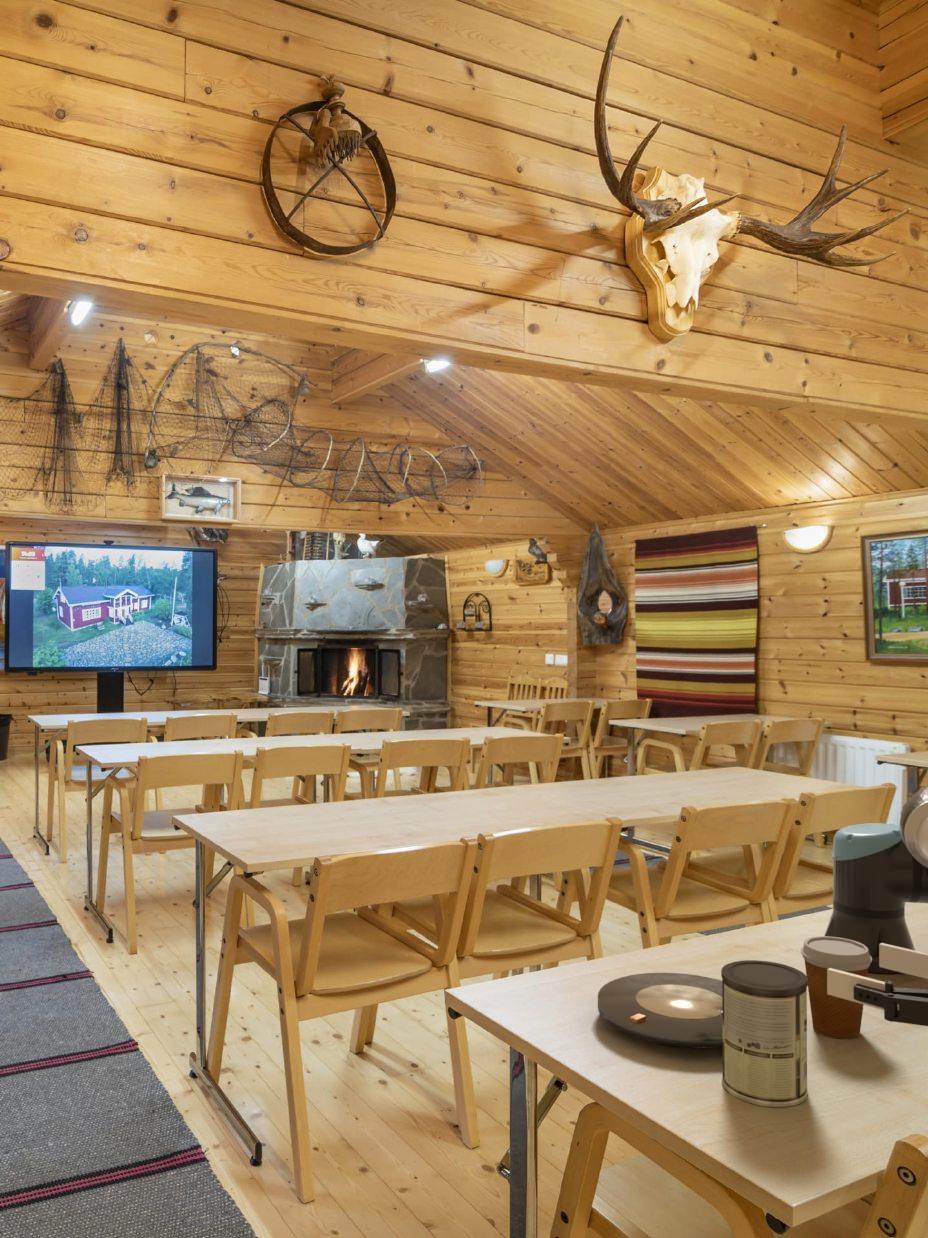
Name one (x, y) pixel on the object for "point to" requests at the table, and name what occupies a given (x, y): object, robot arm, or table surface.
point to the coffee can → (764, 1033)
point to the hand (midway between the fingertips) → (855, 967)
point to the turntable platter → (665, 1008)
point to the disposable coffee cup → (826, 1010)
